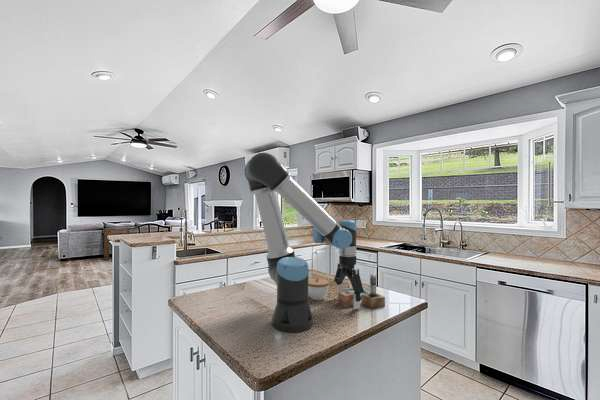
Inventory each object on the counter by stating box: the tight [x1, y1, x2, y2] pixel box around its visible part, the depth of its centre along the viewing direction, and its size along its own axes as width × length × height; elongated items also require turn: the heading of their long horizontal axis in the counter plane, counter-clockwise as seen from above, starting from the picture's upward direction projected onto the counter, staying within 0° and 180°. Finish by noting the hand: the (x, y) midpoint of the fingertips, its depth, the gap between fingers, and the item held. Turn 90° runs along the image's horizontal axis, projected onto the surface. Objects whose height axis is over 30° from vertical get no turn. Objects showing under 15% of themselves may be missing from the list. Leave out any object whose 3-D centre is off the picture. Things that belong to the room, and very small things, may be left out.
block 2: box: [361, 292, 386, 309], centre depth 127 cm, size 7×7×4 cm
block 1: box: [337, 290, 354, 308], centre depth 128 cm, size 6×6×5 cm
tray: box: [343, 287, 370, 300], centre depth 140 cm, size 12×12×2 cm
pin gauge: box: [369, 273, 377, 297], centre depth 127 cm, size 3×3×13 cm
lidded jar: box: [308, 277, 330, 301], centre depth 135 cm, size 11×11×9 cm
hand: (348, 303), depth 128 cm, fingers open, 13 cm apart
